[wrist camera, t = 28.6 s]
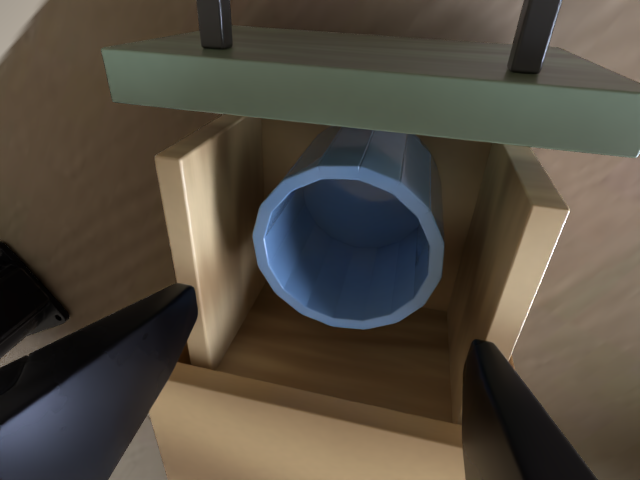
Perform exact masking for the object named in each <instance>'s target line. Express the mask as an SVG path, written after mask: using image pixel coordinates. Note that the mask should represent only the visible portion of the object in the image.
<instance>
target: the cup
mask: <svg viewBox="0 0 640 480" xmlns="http://www.w3.org/2000/svg"><path fill="white" fill-rule="evenodd" d="M252 235H253V236H252V238H253V243H254V249H255V254H256V259H257V265H258V267H259V269H260V271H261V272H262V274H263V275H264V277H265V278H266V280H267V282H268V283H269V285H270V286H271V288H272V289H273V291H274V292H275V293H276V295H278V296H279V297H280V298H281V299H283V300H284V301H285V302H286V303H288V304H289V305H290V306H291V307H293V308H294V309H295V310H296V311H298V312H299V313H301V314H302V315H304V316H307V317H309V318H312V319H314V320H317V321H319V322H322V323H324V324H327V325H329V326H333V327H341V328H352V329H362V330H364V329H366V330H367V329H371V328H376V327H380V326H385V325H389V324H394V323H397V322H399V321H401V320H402V319H404V318H406V317H407V316H409V315H410V314H412V313H413V312H415V311H416V310H418V309H419V308H421V307H422V306H424V305H425V304H426V302H427V300H428V299H429V297H430V296H431V294H432V293H433V291H434V289H435V288H436V286H437V285H438V283H439V282H440V280H441V277H442V272H443V260H444V248H445V242H444V224H443V206H442V188H441V179H440V177H439V172H438V168H437V165H436V162H435V160H434V158H433V156H432V154H431V152H430V151H429V149H428V148H427V146H426V145H425V144H424V143H423V142H422V141H421V139H420V138H418V137H417V136H416V135H414V134H405V133H396V132H386V131H377V130H368V129H358V128H349V127H340V126H329V127H328V128H326V129H325V130H323V131H322V132H321V133H319V134H318V135H317V136H316V137H315V138H314V139H313V140H312V141H311V143H310V144H309V145H308V146H307V147H306V149H305V150H304V151H303V152H302V153H301V154H300V156H299V157H298V158H297V159H296V161H295V162H294V163H293V164H292V166H291V167H290V168H289V169H288V171H287V172H286V173H285V174H284V176H283V177H282V178H281V179H280V181H279V182H278V183H277V184H276V186H275V187H274V188H273V189H272V191H271V192H270V193H269V194H268V196H267V197H266V198H265V199H264V201H263V202H262V203H261V205H260V207H259V211H258V215H257V219H256V222H255V226H254V230H253V234H252Z"/></svg>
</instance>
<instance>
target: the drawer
mask: <svg viewBox="0 0 640 480" xmlns="http://www.w3.org/2000/svg"><path fill="white" fill-rule="evenodd" d="M561 3H562V0H524V2H523V6H522V10H521V14H520V18H519V22H518V25H517V29H516V33H515V37H514V41H513V44H499V43H484V42H469V41H455V40H440V39H425V38H410V37H396V36H381V35H366V34H351V33H336V32H322V31H307V30H292V29H277V28H263V27H248V26H233V25H231V9H230V0H197V10H198V20H199V30H200V31H197V32H191V33H185V34H179V35H174V36H168V37H162V38H156V39H150V40H145V41H139V42H133V43H127V44H121V45H116V46H110V47H104V48H102V49H101V52H102V57H103V61H104V66H105V70H106V75H107V80H108V84H109V89H110V93H111V98H112V101H113V102H116V103H125V104H135V105H144V106H153V107H163V108H172V109H181V110H191V111H200V112H209V113H219V114H224V115H222V116H220V117H219V118H217V119H215V120H214V121H212V122H210V123H209V124H207V125H205V126H204V127H202V128H200V129H198V130H197V131H195V132H193V133H192V134H190V135H188V136H187V137H185V138H183V139H182V140H180V141H178V142H177V143H175V144H173V145H172V146H170V147H168V148H167V149H165V150H163V151H162V152H160V153H158V154H157V155H155V156H154V160H155V166H156V172H157V177H158V183H159V188H160V194H161V199H162V205H163V211H164V216H165V222H166V227H167V233H168V238H169V244H170V250H171V255H172V261H173V266H174V272H175V277H176V283H182V284H188V285H192V286H193V287H194V289H195V293H196V299H197V306H198V317H197V320H196V323H195V325H194V327H193V329H192V331H191V334H190V336H189V338H188V340H187V344H188V350H189V355H190V361H191V365H193V366H197V367H202V368H206V369H211V370H215V371H220V372H224V373H229V374H233V375H238V376H242V377H247V378H251V379H256V380H260V381H265V382H269V383H274V384H278V385H283V386H287V387H292V388H296V389H301V390H305V391H310V392H315V393H319V394H324V395H328V396H333V397H337V398H342V399H346V400H351V401H355V402H360V403H364V404H369V405H373V406H378V407H382V408H387V409H391V410H396V411H400V412H405V413H409V414H414V415H418V416H423V417H427V418H432V419H436V420H441V421H445V422H450V423H454V424H459V425H462V392H463V368H464V364H465V361H466V358H467V355H468V352H469V349H470V346H471V343H472V341H473V340H474V339H480V340H485V341H491V342H493V343H494V344H495V345H496V346H497V347H498V349H499V350H500V351H501V353H502V354H503V355H504V357H505V358H506V359H507V360H508V362H509V359H510V357H511V354H512V352H513V349H514V347H515V344H516V342H517V340H518V337H519V335H520V332H521V330H522V327H523V325H524V322H525V320H526V317H527V315H528V312H529V310H530V308H531V305H532V303H533V300H534V298H535V295H536V293H537V290H538V288H539V285H540V283H541V280H542V278H543V276H544V273H545V271H546V268H547V266H548V263H549V261H550V258H551V256H552V253H553V251H554V249H555V246H556V244H557V241H558V239H559V236H560V234H561V231H562V229H563V226H564V224H565V221H566V219H567V217H568V214H569V212H570V209H569V207H568V206H567V204H566V203H565V201H564V200H563V198H562V196H561V195H560V193H559V192H558V190H557V189H556V187H555V185H554V184H553V182H552V181H551V179H550V178H549V176H548V174H547V173H546V171H545V170H544V168H543V167H542V165H541V163H540V162H539V160H538V159H537V157H536V156H535V154H534V153H533V151H532V149H531V148H530V147H536V148H545V149H554V150H564V151H573V152H582V153H592V154H601V155H610V156H620V157H629V158H637V157H638V156H639V153H640V83H638V82H636V81H634V80H631V79H629V78H627V77H625V76H622V75H620V74H618V73H616V72H613V71H611V70H609V69H606V68H604V67H602V66H600V65H597V64H595V63H593V62H590V61H588V60H586V59H584V58H581V57H579V56H577V55H575V54H572V53H570V52H568V51H565V50H563V49H561V48H558V47H548V46H549V43H550V39H551V36H552V33H553V29H554V26H555V23H556V20H557V16H558V13H559V10H560V6H561ZM329 126H340V127H349V128H358V129H368V130H377V131H386V132H396V133H405V134H414V135H416V136H417V137H418V138H420V139H421V141H422V142H423V143H424V144H425V145H426V146H427V148H428V149H429V151H430V152H431V154H432V156H433V158H434V160H435V162H436V165H437V168H438V172H439V177H440V179H441V188H442V206H443V224H444V242H445V248H444V260H443V272H442V277H441V280H440V282H439V283H438V285H437V286H436V288H435V289H434V291H433V293H432V294H431V296H430V297H429V299H428V300H427V302H426V304H425V305H424V306H422V307H421V308H419V309H418V310H416V311H415V312H413V313H412V314H410V315H409V316H407V317H406V318H404V319H402V320H401V321H399V322H397V323H394V324H389V325H385V326H380V327H376V328H371V329H367V330H366V329H364V330H362V329H352V328H341V327H333V326H329V325H327V324H324V323H322V322H319V321H317V320H314V319H312V318H309V317H307V316H304V315H302V314H301V313H299V312H298V311H296V310H295V309H294V308H293V307H291V306H290V305H289V304H288V303H286V302H285V301H284V300H283V299H281V298H280V297H279V296H278V295H276V293H275V292H274V291H273V289H272V288H271V286H270V285H269V283H268V282H267V280H266V278H265V277H264V275H263V274H262V272H261V271H260V269H259V267H258V265H257V259H256V254H255V249H254V243H253V238H252V236H253V235H252V234H253V230H254V226H255V222H256V219H257V215H258V211H259V207H260V205H261V203H262V202H263V201H264V199H265V198H266V197H267V196H268V194H269V193H270V192H271V191H272V189H273V188H274V187H275V186H276V184H277V183H278V182H279V181H280V179H281V178H282V177H283V176H284V174H285V173H286V172H287V171H288V169H289V168H290V167H291V166H292V164H293V163H294V162H295V161H296V159H297V158H298V157H299V156H300V154H301V153H302V152H303V151H304V150H305V149H306V147H307V146H308V145H309V144H310V143H311V141H312V140H313V139H314V138H315V137H316V136H317V135H318V134H319V133H321V132H322V131H323V130H325V129H326V128H328V127H329Z"/></svg>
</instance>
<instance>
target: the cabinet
mask: <svg viewBox="0 0 640 480" xmlns="http://www.w3.org/2000/svg"><path fill="white" fill-rule="evenodd" d="M509 363H510V364H511V366H512V367H513V368H514V370H515V367H514V362H513V358H512V354H511V357H510V359H509ZM149 415H150V419H151V422H152V426H153V429H154V433H155V436H156V440H157V443H158V447H159V451H160V454H161V458H162V461H163V465H164V468H165V472H166V475H167V479H168V480H466V479H465V469H464V460H463V449H462V425H459V424H454V423H450V422H445V421H441V420H436V419H432V418H427V417H423V416H418V415H414V414H409V413H405V412H400V411H396V410H391V409H387V408H382V407H378V406H373V405H369V404H364V403H360V402H355V401H351V400H346V399H342V398H337V397H333V396H328V395H324V394H319V393H315V392H310V391H305V390H301V389H296V388H292V387H287V386H283V385H278V384H274V383H269V382H265V381H260V380H256V379H251V378H247V377H242V376H238V375H233V374H229V373H224V372H220V371H215V370H211V369H206V368H202V367H197V366H193V365H191V361H190V355H189V350H188V344H187V342H186V344H185V347H184V349H183V351H182V353H181V355H180V357H179V359H178V362H177V364H176V366H175V368H174V370H173V372H172V374H171V376H170V377H169V379H168V381H167V383H166V384H165V386H164V388H163V389H162V391H161V393H160V394H159V396H158V398H157V399H156V401H155V403H154V404H153V406H152V408H151V409H150V411H149Z"/></svg>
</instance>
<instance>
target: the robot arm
mask: <svg viewBox="0 0 640 480" xmlns="http://www.w3.org/2000/svg"><path fill="white" fill-rule="evenodd" d="M197 317H198V306H197V299H196V293H195V289H194V287H193V286H192V285H188V284H182V283H176V284H173V285H171V286H169V287H167V288H165V289H163V290H161V291H159V292H157V293H155V294H152V295H150V296H148V297H146V298H144V299H142V300H140V301H138V302H136V303H134V304H132V305H130V306H128V307H126V308H123V309H121V310H119V311H117V312H115V313H113V314H111V315H109V316H107V317H105V318H103V319H101V320H99V321H97V322H94V323H92V324H90V325H88V326H86V327H84V328H82V329H80V330H78V331H76V332H74V333H72V334H70V335H68V336H65V337H63V338H61V339H59V340H57V341H55V342H53V343H51V344H49V345H47V346H45V347H43V348H41V349H38V350H36V351H34V352H32V353H30V354H29V356H24V357H22V358H20V359H18V360H16V361H14V362H11V363H9V364H7V365H5V366H3V367H1V368H0V480H108V479H109V477H110V476H111V474H112V472H113V471H114V469H115V467H116V466H117V464H118V462H119V461H120V459H121V457H122V456H123V454H124V452H125V451H126V449H127V447H128V446H129V444H130V442H131V441H132V439H133V438H134V436H135V434H136V433H137V431H138V429H139V428H140V426H141V424H142V423H143V421H144V419H145V418H146V416H147V414H148V413H149V411H150V409H151V408H152V406H153V404H154V403H155V401H156V399H157V398H158V396H159V394H160V393H161V391H162V389H163V388H164V386H165V384H166V383H167V381H168V379H169V377H170V376H171V374H172V372H173V370H174V368H175V366H176V364H177V362H178V359H179V357H180V355H181V353H182V351H183V349H184V347H185V344H186V342H187V340H188V338H189V336H190V334H191V331H192V329H193V327H194V325H195V323H196V320H197ZM68 319H69V314H68V312H67V311H66V310H65V309H64V308H63V307H62V306H61V305H60V304H59V303H58V301H57V300H56V299H55V298H54V297H53V296H52V295H51V294H50V293H49V292H48V290H47V289H46V288H45V287H44V286H43V285H42V284H41V283H40V282H39V281H38V279H37V278H36V277H35V276H34V275H33V274H32V273H31V272H30V271H29V270H28V268H27V267H26V266H25V265H24V264H23V263H22V262H21V261H20V260H19V259H18V257H17V256H16V255H15V254H14V253H13V252H12V251H11V250H10V249H9V248H8V246H7V245H5V244H4V243H2V242H0V358H2V357H3V356H4V355H5V354H6V353H7V352H9V351H10V350H11V349H12V348H13V347H14V346H16V345H17V344H18V343H19V342H20V341H22V340H23V339H24V338H25V337H26V336H28V335H31V334H34V333H37V332H40V331H42V330H45V329H48V328H51V327H54V326H57V325H60V324H63V323H64V322H66V321H67V320H68ZM462 449H463V460H464V469H465V479H466V480H598V479H597V478H596V476H595V475H594V474H593V472H592V471H591V470H590V469H589V467H588V466H587V465H586V463H585V462H584V461H583V459H582V458H581V457H580V455H579V454H578V453H577V451H576V450H575V449H574V447H573V446H572V445H571V443H570V442H569V441H568V440H567V438H566V437H565V436H564V434H563V433H562V432H561V430H560V429H559V428H558V426H557V425H556V424H555V422H554V421H553V420H552V418H551V417H550V416H549V415H548V413H547V412H546V411H545V409H544V408H543V407H542V405H541V404H540V403H539V401H538V400H537V399H536V397H535V396H534V395H533V393H532V392H531V391H530V389H529V388H528V387H527V386H526V384H525V383H524V382H523V380H522V379H521V378H520V376H519V375H518V374H517V372H516V371H515V370H514V368H513V367H512V366H511V364H510V363H509V362H508V360H507V359H506V358H505V357H504V355H503V354H502V353H501V351H500V350H499V349H498V347H497V346H496V345H495V344H494V343H493V342H491V341H485V340H480V339H474V340H473V341H472V343H471V346H470V349H469V352H468V355H467V358H466V361H465V364H464V368H463V392H462Z"/></svg>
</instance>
